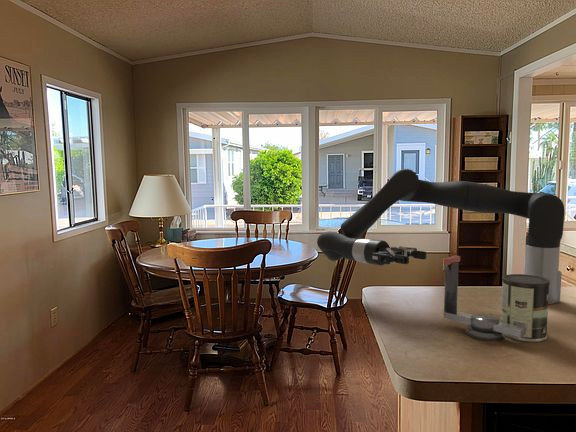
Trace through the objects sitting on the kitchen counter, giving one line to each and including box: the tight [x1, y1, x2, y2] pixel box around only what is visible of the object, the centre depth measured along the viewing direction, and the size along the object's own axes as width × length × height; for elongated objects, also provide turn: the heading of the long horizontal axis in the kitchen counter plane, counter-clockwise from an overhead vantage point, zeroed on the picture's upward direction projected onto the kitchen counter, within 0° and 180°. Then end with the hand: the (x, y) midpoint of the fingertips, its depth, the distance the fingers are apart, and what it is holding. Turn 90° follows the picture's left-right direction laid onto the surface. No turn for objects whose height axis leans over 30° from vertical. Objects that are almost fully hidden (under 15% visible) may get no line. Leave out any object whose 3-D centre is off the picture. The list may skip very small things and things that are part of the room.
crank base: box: [466, 324, 503, 342], centre depth 110 cm, size 8×8×2 cm
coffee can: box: [500, 273, 550, 343], centre depth 109 cm, size 10×10×14 cm
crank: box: [443, 254, 526, 338], centre depth 109 cm, size 20×6×16 cm, turn 42°
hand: (417, 257), depth 123 cm, fingers open, 8 cm apart
